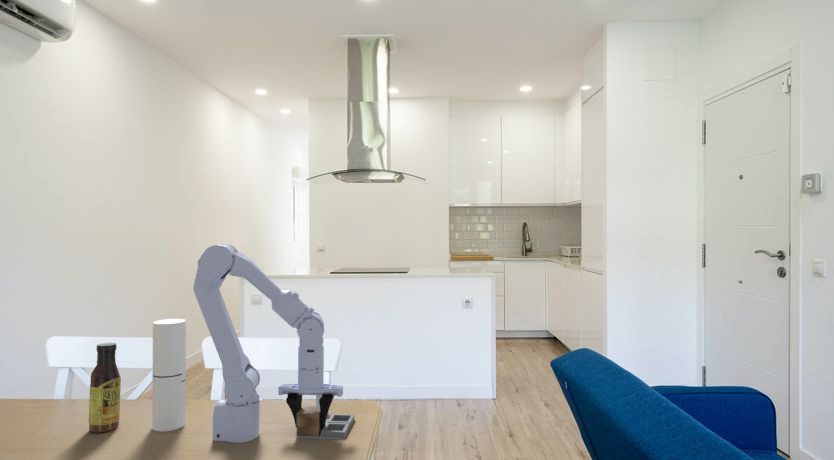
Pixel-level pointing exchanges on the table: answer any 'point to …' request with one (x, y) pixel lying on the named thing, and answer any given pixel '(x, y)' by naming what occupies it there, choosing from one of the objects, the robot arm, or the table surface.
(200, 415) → the table surface
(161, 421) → the cylindrical container
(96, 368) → the sauce bottle
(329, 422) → the board
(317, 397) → the pin
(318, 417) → the wooden toy block
